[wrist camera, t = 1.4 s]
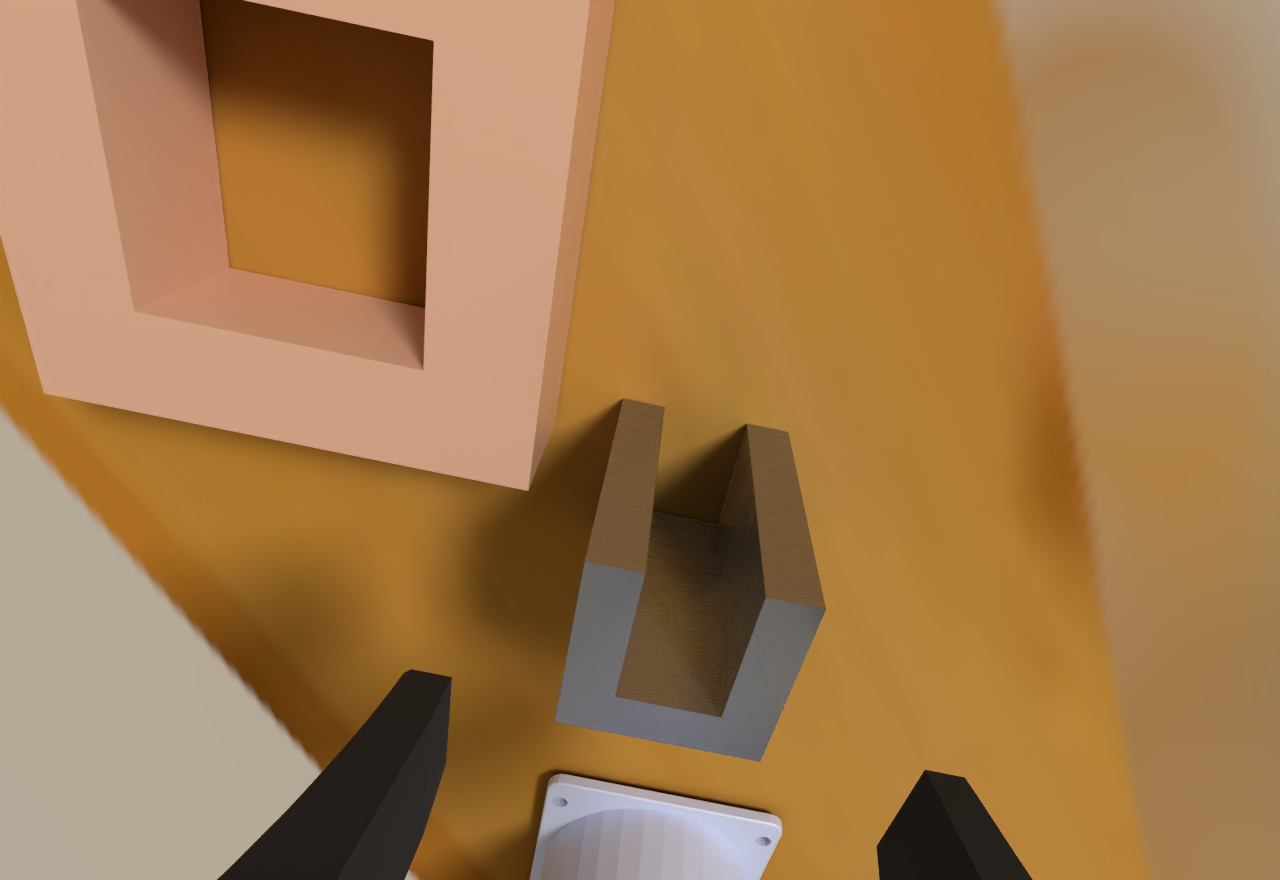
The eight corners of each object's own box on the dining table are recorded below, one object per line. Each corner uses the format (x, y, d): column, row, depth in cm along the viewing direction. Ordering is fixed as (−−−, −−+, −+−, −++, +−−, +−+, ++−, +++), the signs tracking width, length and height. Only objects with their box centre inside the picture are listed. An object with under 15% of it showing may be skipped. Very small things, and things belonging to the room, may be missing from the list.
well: (555, 422, 17) (528, 491, 14) (147, 339, 17) (43, 393, 14) (626, -78, 12) (605, -114, 9) (47, -205, 12) (-140, -276, 9)
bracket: (744, 560, 19) (759, 761, 13) (597, 531, 18) (554, 721, 13) (788, 432, 17) (826, 609, 11) (623, 398, 16) (584, 561, 11)
